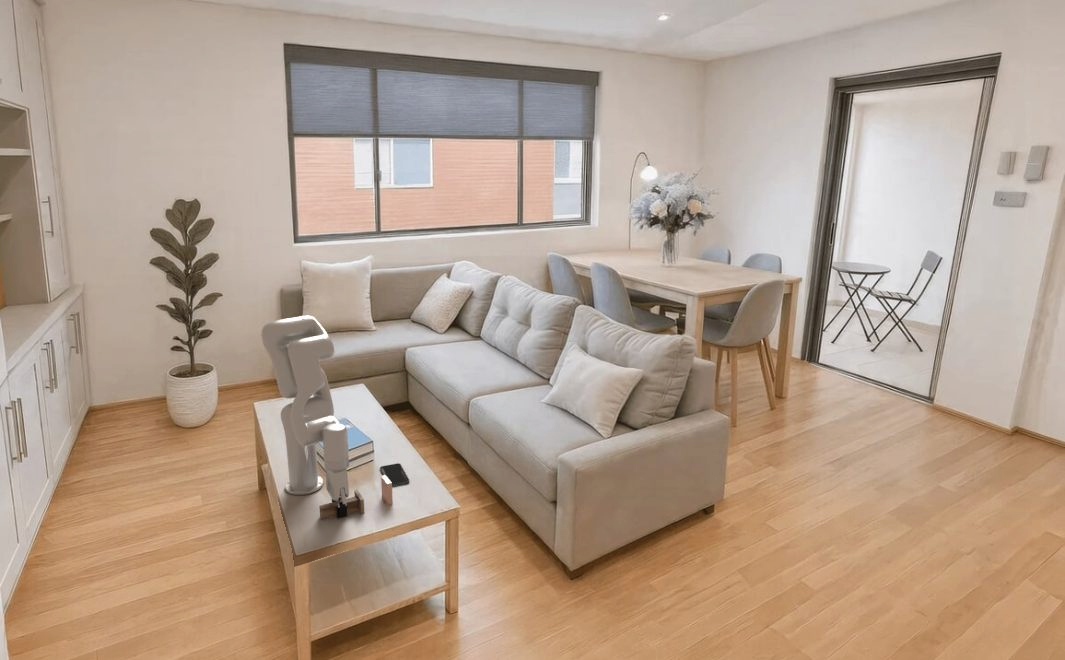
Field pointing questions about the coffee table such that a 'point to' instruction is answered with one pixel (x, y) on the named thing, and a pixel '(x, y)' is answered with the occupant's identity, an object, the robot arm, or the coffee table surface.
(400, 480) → the phone
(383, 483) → the tile
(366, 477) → the coffee table surface
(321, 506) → the post on base stand
